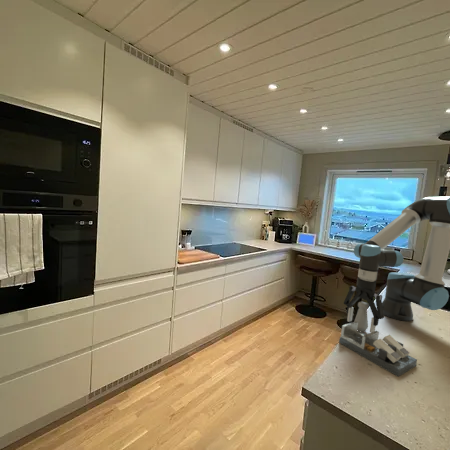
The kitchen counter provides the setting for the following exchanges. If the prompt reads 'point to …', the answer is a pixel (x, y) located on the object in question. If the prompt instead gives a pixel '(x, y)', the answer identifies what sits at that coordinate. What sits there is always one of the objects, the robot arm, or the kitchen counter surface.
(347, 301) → the robot arm
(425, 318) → the kitchen counter surface
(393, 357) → the rocker
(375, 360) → the grey mechanical fixture
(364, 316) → the salt shaker
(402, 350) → the rocker
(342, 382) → the kitchen counter surface
